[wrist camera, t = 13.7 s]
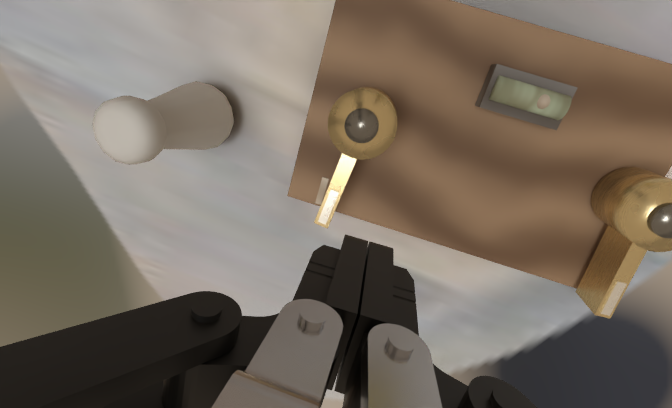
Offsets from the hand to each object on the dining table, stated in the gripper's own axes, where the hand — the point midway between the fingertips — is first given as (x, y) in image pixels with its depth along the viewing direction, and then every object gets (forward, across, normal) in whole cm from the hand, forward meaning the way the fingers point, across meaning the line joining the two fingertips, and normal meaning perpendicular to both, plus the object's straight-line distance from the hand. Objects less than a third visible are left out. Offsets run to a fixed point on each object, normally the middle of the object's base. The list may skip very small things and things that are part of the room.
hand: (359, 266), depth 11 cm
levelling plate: (+24, -8, -1) cm, 25 cm away
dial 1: (+22, +2, +2) cm, 22 cm away
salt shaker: (+24, +16, +3) cm, 29 cm away
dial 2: (+22, -21, +3) cm, 30 cm away
